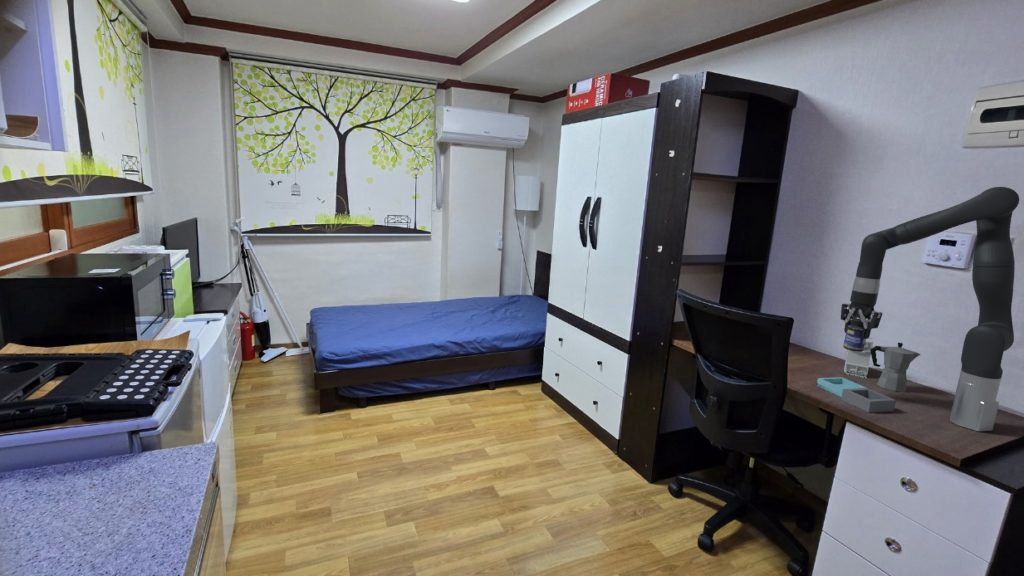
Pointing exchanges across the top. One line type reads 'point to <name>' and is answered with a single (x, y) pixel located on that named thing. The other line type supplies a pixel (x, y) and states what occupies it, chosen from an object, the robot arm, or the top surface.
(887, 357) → the coffeepot
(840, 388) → the tray
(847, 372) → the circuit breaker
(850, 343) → the pill bottle
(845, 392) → the holder
